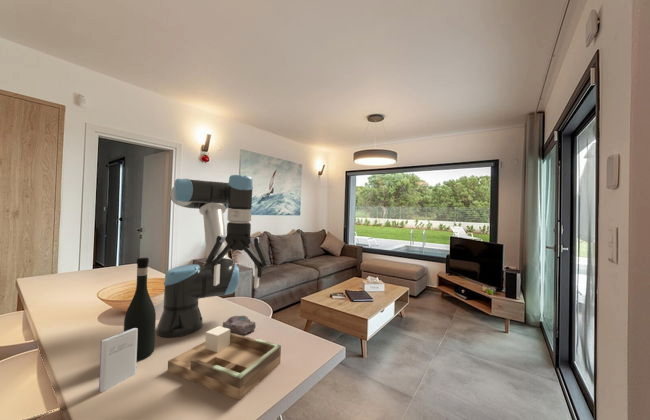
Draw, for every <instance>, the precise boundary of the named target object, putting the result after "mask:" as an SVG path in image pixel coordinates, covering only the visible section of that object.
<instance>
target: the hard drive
mask: <svg viewBox="0 0 650 420" xmlns="http://www.w3.org/2000/svg"><path fill="white" fill-rule="evenodd" d="M137 335H138V328H132V329H130V330H127V331H125V332H124V331H122V332H120V333H117V334H113V335H112V336H109V337H106V338H104V339H102V340H100V355H99V357H100V360H99V381H98V382H99V383H98V392H100V393H104V392H106V391H108V390H109V389H111V388H113V387H115V386H117V385H118V384H119V385H120V383H122V382H124V381H126V380H128V379H130V378H132V377H133V376H134V375H136V374H137V361H138V360H137ZM136 360H137V361H136Z"/></svg>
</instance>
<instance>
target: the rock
mask: <svg viewBox="0 0 650 420" xmlns="http://www.w3.org/2000/svg"><path fill="white" fill-rule="evenodd" d="M222 327H224V328H228V329H230V332H231V333H234V334H238V335H247V334H248V333H252V332H255V329H256V322H255V321H253V320H250V319H249V317H248V316H247V315H234V316H231V317H229V318H228V319H226V320H225V321H223V322H222Z"/></svg>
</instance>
